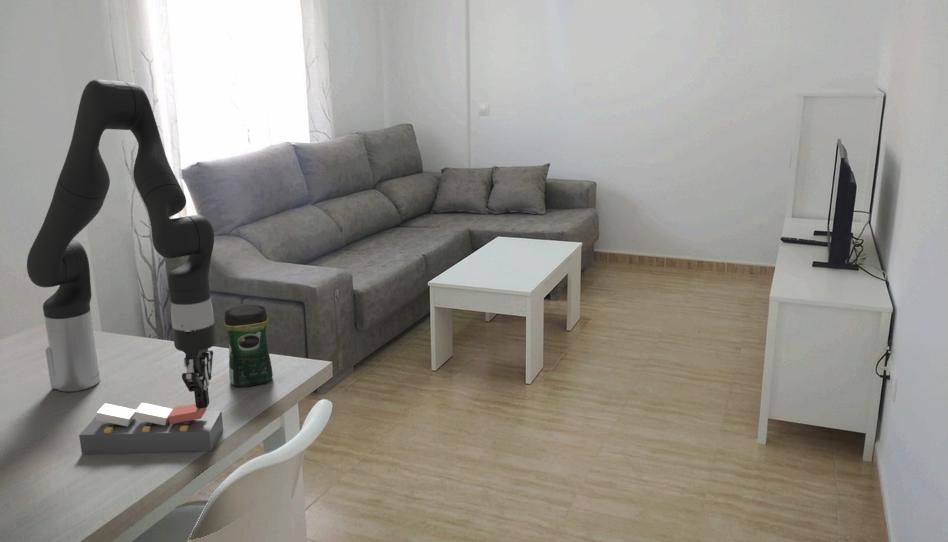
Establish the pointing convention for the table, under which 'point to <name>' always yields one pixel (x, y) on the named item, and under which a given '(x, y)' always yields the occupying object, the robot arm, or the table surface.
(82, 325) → the robot arm
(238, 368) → the coffee jar
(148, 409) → the block
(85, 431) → the switch panel
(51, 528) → the table surface
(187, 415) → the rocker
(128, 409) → the rocker
